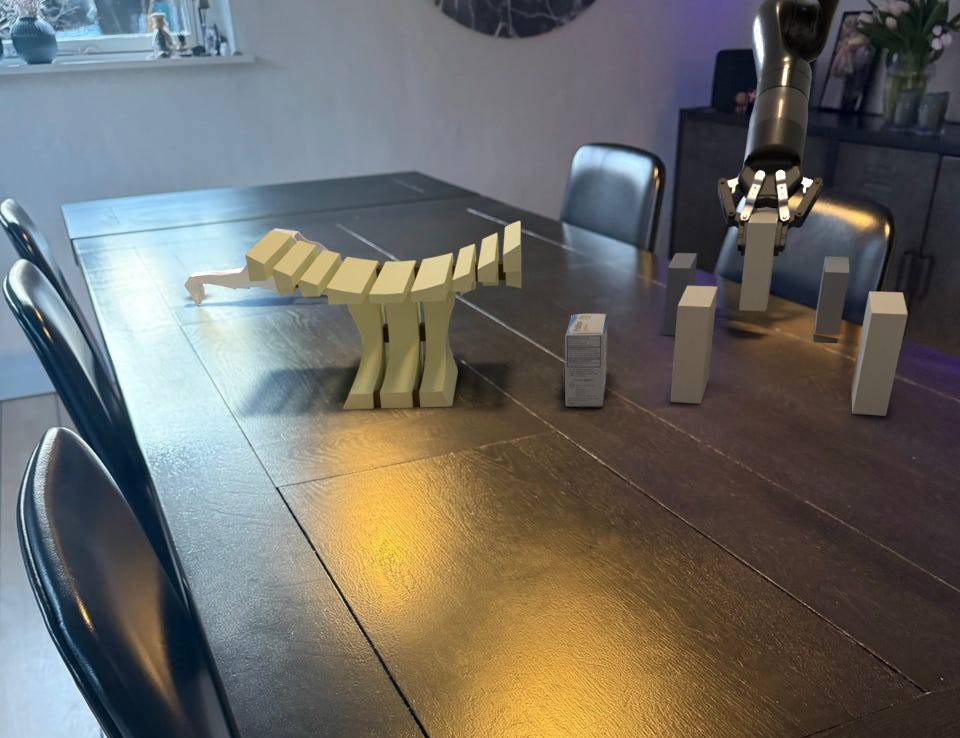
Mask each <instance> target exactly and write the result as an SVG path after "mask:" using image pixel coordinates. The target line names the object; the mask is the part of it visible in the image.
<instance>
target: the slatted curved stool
mask: <svg viewBox="0 0 960 738" xmlns="http://www.w3.org/2000/svg"><path fill="white" fill-rule="evenodd" d="M521 222H522V221H521V220H518V221H515V222H512V223H510V224H508V225H507V226H504V235H503V236H504V237H503V250H502V260H500V259H499V257H500V256H499V255H500V254H499V234H498V232H495V233H493V234H491V235H488V236H487V237H484V238H482V240H481V246H480V253H479V259H478V260H477V251H476V243H473V244H469V245H467V246H464V247H461V248H460V249H459V252H458V255H457V260H456V262H455V261H454V255H453V254H454V253H453V252H449V253H447V254H441V255H437V256H433V257H427V258H423V259H422V261H421V263H417V259H414V260H404V261H403V260H401V261H400V260H399V261H397V260H395V261H390V260H388V261H387V260H386V261H385V262H384V264H380V263H379V260H373V259H365V258H359V257H351V256H346V257H345V258H344V260H342V256H341V253H339V252H335V251H331V250H329V249H327V250H324V249H323V251H322V252H321V251H320V254H319V255H318V250H317V247H316V245H313V244H310V243H306V242H303V241H299V240H298V242H297V243H296V244H295V245H294V241H293V238H292V236H291V235H289V234H286V233H283V232H279V231H272V230H270V231H269V232H268V233H266V235H264V236H263V237H262V238H261V239H260V240H258V242H257V243H256V244H255V245H254V246H253V247H252V248H251V249H249V250H248V252H246V253H245V254H244V255H245V262H246V265H247V268H248V273H249V279H250V281H267V280H268V279H269V278H270V277H271V276H272V275H273V277H274V279H275V284H276V289H278V291H277V292H278V296H279V298H281V297H284V296H288V295H291V294H295V292H296V291H297V290H298V289H299V292H300V293H301V295H302V298H316V297H317V298H318V297H321V296H322V295H324V296H327V303H328V305H329V306H339V305H340V306H341V305H347V310H348V313H349V314H350V315H351V317H352V319H353V322H354V323H355V325H356V328H357V330H358V333H359V336H360V340H361V358H360V363H359V367H358V370H357V373H356V376H355V378H354V381H353V383H352V386H351V388H350V391H349V393H348V396H347V399H346V401H345V403H344V405H343V408H342V410H372V409H373V410H374V409H375V407H380V408H381V409H408V408H409V409H410V408H411V409H412V408H414V406H420V407H419V408H443V407H444V408H445V407H446V408H447V407H449V408H451V407H453V403H454V397H455V391H456V387H457V386H456V385H457V380H458V374H459V373H458V372H459V369H458V366H457V364H456V361H455V359H454V355H453V352H452V350H451V345H450V340H449V339H450V338H449V329H450V321H451V316H452V313H453V310H454V308H455V303H456V298H457V296H456V293H459V295H460V297H462V296H463V295H465V294H466V293H468V292H471V291H474V290H476V287H477V282H478V283H482V287H490V286H495V287H496V286H499V283H500V281H505V286H507V287H512V288H517V289H523V288H522V285H523V284H522V279H523V277H522V275H523V274H522V233H521V232H522V228H521V227H522V226H521V225H522V223H521ZM328 250H329V251H328ZM342 262H343V263H342ZM421 303H422V309H423V319H424V321H423V322H422V316H421V315H422V313H421ZM384 307H385V308H384ZM385 313H386V316H385ZM386 319H387V323H386ZM424 342H425V357H424ZM424 358H425V360H424ZM423 367H424V368H423ZM420 382H421V383H420ZM419 386H420V388H419Z"/></svg>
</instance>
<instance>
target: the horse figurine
mask: <svg viewBox="0 0 960 738" xmlns="http://www.w3.org/2000/svg"><path fill="white" fill-rule="evenodd" d="M271 231H279V232H283V233H286V234H289V235H291V236H292V238H293V241H294V245H295V244H296V243H297V242H298V240H299V241H303V242H306V243H310V244H313V245H316V247H317V250H318V255H319V254H320V253H321V252H322V251H323V249H324V250H328V251H330V250H329V249H328V248H326V247H325V246H324V245H323V244H322V243H320V242H319V241H314V240H313V241H312V240H309V239H307V238H305V237H304V236H303V235H302V234H301V232H300V231H298V230H292V229H284V228H277V227H275V228H274V229H272V230H271ZM343 262H344V261H342V263H343ZM204 285H213V286H218V287H219V286H220V287H224V288H227V289H231V290H235V291H236V290H238V289H241V290H242V289H243V290H244V289H245V290H247V289H248V290H249V289H250V288H260V289H262V290H268V291H273V292H278V289H276V284H275V279H274V277H273V275H272V276H271V277H270V278H269V279H268V280H267V281H250V279H249V273H248V268H247V264H246V265H245V266H243V267H240V268H239V267H238V268H232V269H225V270H208V271H201V272H200V271H199V272H193V273H191V274H190V275H189V277H188V278H187V280H186V282H185V283H184V284H183V286H184V288H185V289H186V291H187V292H188V293H189V295H190V297H191V300H192V301H193V302H194V305H195V306H196V305H197V306H200V305H199V304H201V305H202V302H203V300H204V298H205V292H206V291H205V287H204Z"/></svg>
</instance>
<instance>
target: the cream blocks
mask: <svg viewBox="0 0 960 738" xmlns="http://www.w3.org/2000/svg"><path fill="white" fill-rule="evenodd" d="M718 287H719V286H712V285H710V286H709V285H695V286H687V287H686V290H685V292H684V294H683V296H682V298H681V300H680V302H679V304H678V310H677V323H676V336H674V337H675V338H674V352H673V364H672V367H673V368H672V376H671V377H672V378H671V389H670V390H671V391H670V403H682V404H683V403H684V404H696V405H697V404H698V405H701V404H702V401H703V398H704V395H705V391H706V388H707V385H708V382H709V377H710V370H711V369H710V368H711V357H712V349H713V338H714V329H715V328H714V327H715V319H716V308H717V307H716V306H717V297H718ZM908 315H909V314H908V310H907V304H906V300H905V296H904V292H903V291H902V292H899V291H897V292H896V291H872V290H871V291H868V296H867V300H866V306H865V311H864V318H863V322H862V327H861V333H860V339H859V343H858V349H857V353H856V358H855V365H854V370H853V374H852V380H851V385H850V391H851V392H850V393H851V396H850V397H851V413H852V414H853V415H865V416H866V415H867V416H881V417H882V416H883V417H887V412H888V407H889V403H890V398H891V394H892V389H893V385H894V380H895V375H896V371H897V367H898V362H899V358H900V352H901V347H902V343H903V338H904V333H905V330H906V324H907V321H908V320H907V319H908Z"/></svg>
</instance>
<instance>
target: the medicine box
mask: <svg viewBox="0 0 960 738" xmlns="http://www.w3.org/2000/svg"><path fill="white" fill-rule="evenodd" d="M607 344H608V314H607V313H577V314H572V315H571V316H570V319H569V323H568V327H567V330H566V333H565V337H564V392H565V394H564V395H565V396H564V397H565V399H564V400H565V406H566V407H568V408H569V407H570V408H602V407H603V406H604V399H605V392H606V385H607V352H608V351H607V349H608V345H607Z"/></svg>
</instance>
